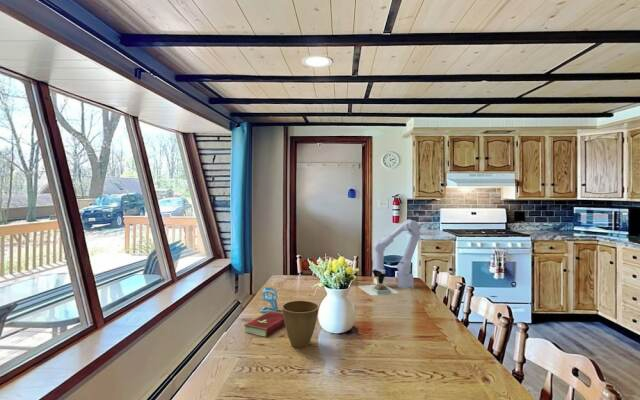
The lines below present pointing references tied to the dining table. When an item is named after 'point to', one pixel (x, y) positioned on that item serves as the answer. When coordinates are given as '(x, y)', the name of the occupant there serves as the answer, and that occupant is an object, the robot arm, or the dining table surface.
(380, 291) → the packing board
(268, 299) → the chair
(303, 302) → the plant pot
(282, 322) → the hardcover book
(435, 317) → the dining table surface
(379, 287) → the walnut block
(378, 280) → the cream box
